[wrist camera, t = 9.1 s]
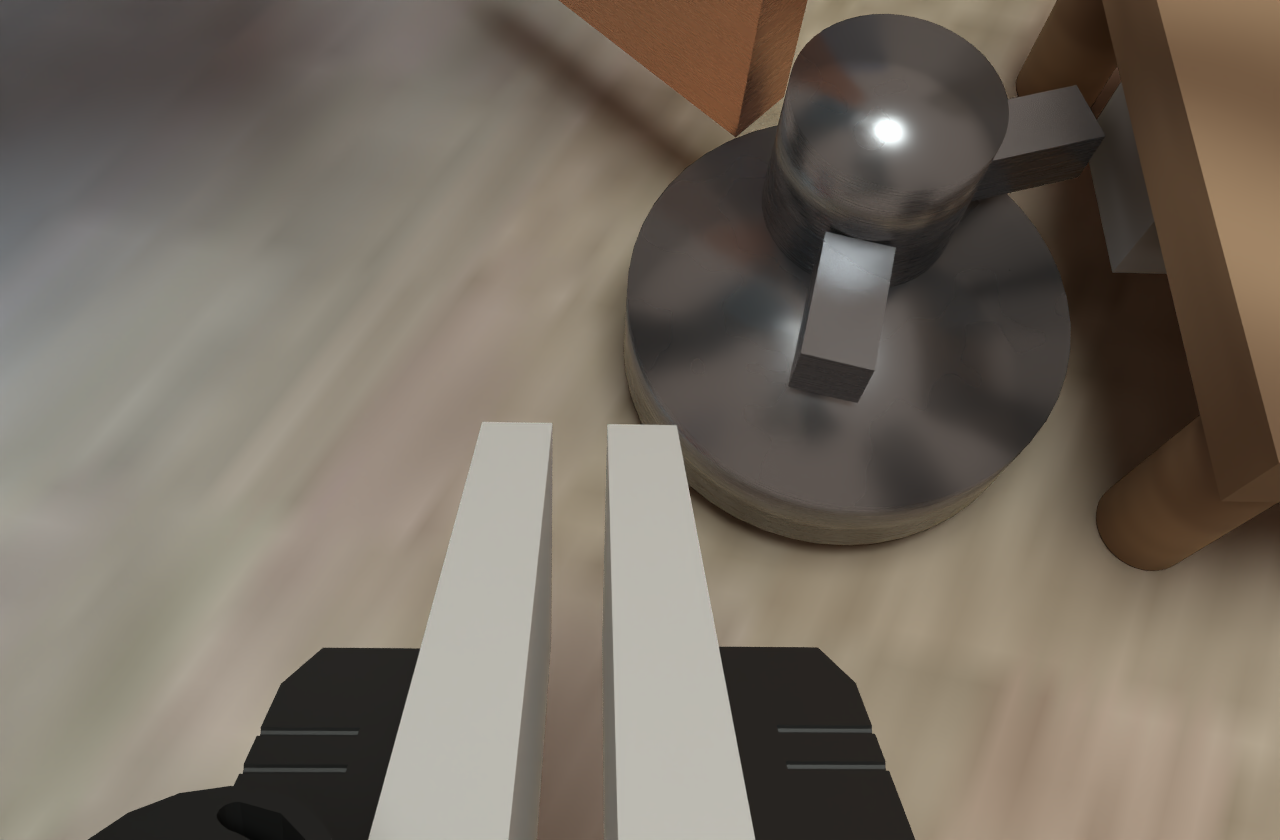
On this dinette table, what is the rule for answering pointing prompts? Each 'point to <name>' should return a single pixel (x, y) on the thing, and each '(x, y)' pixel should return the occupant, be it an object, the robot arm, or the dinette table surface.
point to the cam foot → (845, 266)
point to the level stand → (1188, 240)
